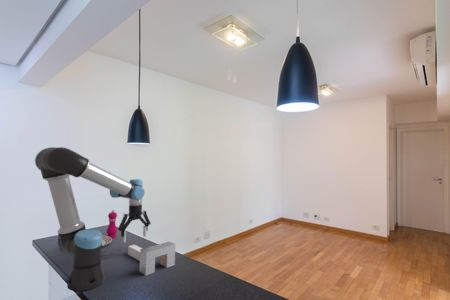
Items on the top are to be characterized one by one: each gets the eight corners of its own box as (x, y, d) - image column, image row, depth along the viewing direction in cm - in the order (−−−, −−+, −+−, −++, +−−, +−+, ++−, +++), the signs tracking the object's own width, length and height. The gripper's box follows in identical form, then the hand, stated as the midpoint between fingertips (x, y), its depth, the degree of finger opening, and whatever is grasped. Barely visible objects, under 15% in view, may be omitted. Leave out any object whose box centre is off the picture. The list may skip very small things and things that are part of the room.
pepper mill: (118, 235, 186) (119, 209, 187) (114, 238, 179) (115, 211, 180) (108, 235, 186) (110, 209, 187) (104, 238, 179) (105, 211, 180)
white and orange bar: (155, 264, 138) (155, 255, 138) (148, 266, 135) (149, 257, 135) (134, 252, 154) (134, 244, 154) (127, 254, 151) (128, 246, 151)
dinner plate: (119, 240, 176) (119, 235, 177) (95, 254, 149) (96, 249, 149) (83, 238, 179) (84, 233, 179) (54, 251, 152) (54, 246, 152)
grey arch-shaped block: (174, 264, 137) (175, 244, 138) (145, 275, 124) (146, 252, 124) (168, 261, 141) (169, 241, 142) (139, 271, 128) (140, 249, 128)
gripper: (118, 208, 140) (117, 245, 139) (156, 202, 158) (155, 235, 158) (112, 206, 145) (111, 242, 144) (150, 201, 163) (149, 233, 163)
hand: (134, 239), depth 151 cm, fingers open, 13 cm apart
